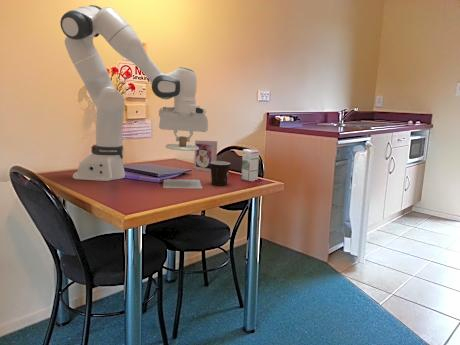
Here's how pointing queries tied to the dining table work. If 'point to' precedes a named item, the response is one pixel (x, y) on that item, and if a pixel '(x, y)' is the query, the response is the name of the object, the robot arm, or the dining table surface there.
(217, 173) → the coffee mug
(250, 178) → the syrup box
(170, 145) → the sage lid
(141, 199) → the dining table surface
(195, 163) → the greeting card
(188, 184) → the grey mat
